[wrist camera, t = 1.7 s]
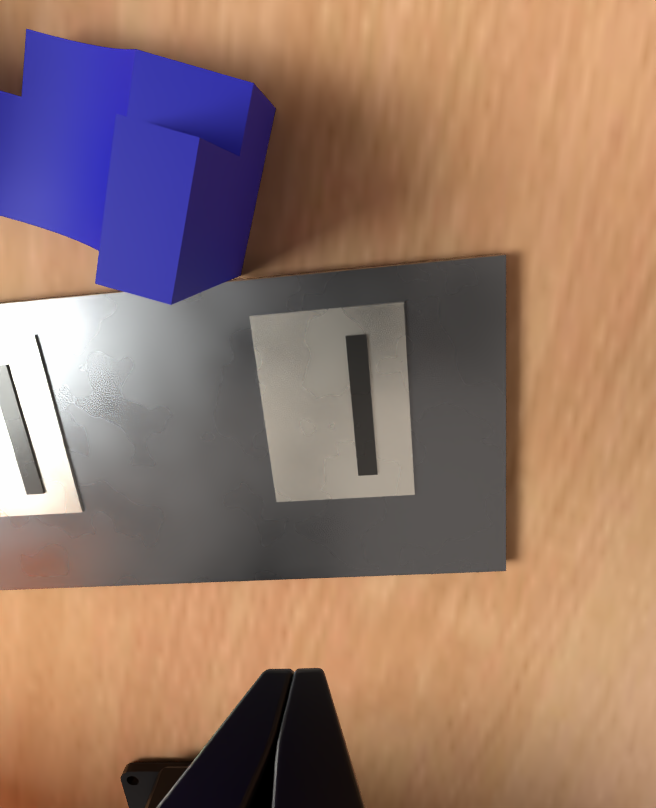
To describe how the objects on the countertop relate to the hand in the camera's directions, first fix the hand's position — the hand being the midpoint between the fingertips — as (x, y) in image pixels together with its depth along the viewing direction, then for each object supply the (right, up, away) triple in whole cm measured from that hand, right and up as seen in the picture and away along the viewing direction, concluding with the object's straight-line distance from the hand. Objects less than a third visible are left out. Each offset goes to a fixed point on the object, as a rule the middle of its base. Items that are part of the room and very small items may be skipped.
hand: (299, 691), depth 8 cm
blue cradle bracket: (-7, +12, +8) cm, 16 cm away
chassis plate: (-5, +3, +10) cm, 12 cm away
